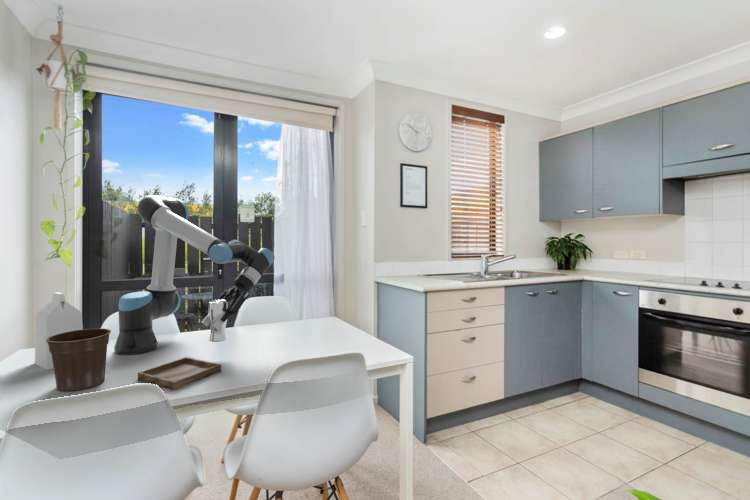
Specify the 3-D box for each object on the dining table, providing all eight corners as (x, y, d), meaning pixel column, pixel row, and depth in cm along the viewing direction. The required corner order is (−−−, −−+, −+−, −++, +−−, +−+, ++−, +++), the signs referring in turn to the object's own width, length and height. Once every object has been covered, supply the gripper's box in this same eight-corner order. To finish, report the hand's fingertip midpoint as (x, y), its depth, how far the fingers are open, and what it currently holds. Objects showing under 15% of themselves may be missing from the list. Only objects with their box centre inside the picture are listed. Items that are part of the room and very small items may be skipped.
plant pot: (34, 389, 114) (33, 338, 114) (91, 371, 129) (90, 326, 129) (68, 398, 108) (67, 344, 108) (123, 378, 124) (122, 330, 123)
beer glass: (220, 343, 140) (220, 303, 139) (204, 341, 141) (204, 302, 140) (231, 338, 147) (231, 300, 146) (215, 336, 148) (215, 299, 147)
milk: (85, 360, 141) (84, 292, 140) (46, 369, 131) (44, 296, 130) (72, 354, 147) (71, 289, 146) (34, 363, 137) (32, 293, 136)
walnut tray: (137, 380, 122) (137, 372, 122) (186, 363, 139) (186, 356, 138) (174, 390, 115) (174, 382, 114) (221, 371, 131) (221, 364, 131)
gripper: (267, 288, 150) (230, 336, 137) (238, 283, 161) (202, 327, 149) (256, 276, 145) (217, 324, 133) (227, 271, 157) (189, 316, 144)
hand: (209, 326), depth 141 cm, fingers closed on beer glass, 7 cm apart
